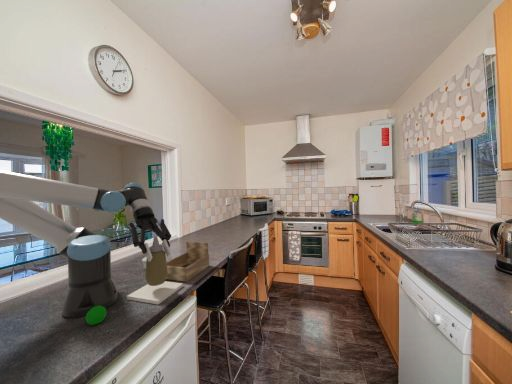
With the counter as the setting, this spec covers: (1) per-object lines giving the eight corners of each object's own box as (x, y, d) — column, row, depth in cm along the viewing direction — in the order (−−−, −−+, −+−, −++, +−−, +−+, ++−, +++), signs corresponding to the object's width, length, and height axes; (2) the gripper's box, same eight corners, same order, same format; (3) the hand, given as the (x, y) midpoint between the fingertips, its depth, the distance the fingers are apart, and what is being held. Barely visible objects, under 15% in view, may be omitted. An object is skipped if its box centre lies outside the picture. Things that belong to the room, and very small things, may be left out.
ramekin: (170, 263, 112) (170, 254, 112) (158, 272, 101) (158, 261, 101) (151, 263, 113) (150, 254, 113) (137, 271, 102) (137, 260, 102)
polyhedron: (110, 317, 64) (110, 302, 64) (98, 328, 60) (98, 311, 59) (94, 318, 64) (93, 303, 64) (81, 328, 59) (80, 312, 59)
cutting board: (126, 299, 75) (126, 296, 75) (155, 282, 89) (155, 279, 89) (158, 304, 71) (158, 301, 71) (183, 286, 85) (182, 283, 85)
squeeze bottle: (140, 285, 78) (139, 238, 78) (159, 277, 86) (158, 234, 85) (154, 289, 75) (152, 240, 74) (172, 280, 82) (171, 235, 82)
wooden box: (159, 278, 93) (159, 252, 92) (186, 263, 112) (186, 241, 112) (186, 282, 89) (185, 254, 89) (209, 265, 108) (208, 242, 108)
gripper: (162, 215, 97) (180, 256, 87) (114, 220, 83) (129, 270, 72) (167, 204, 94) (186, 245, 83) (118, 207, 79) (134, 258, 69)
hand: (160, 257), depth 78 cm, fingers closed on squeeze bottle, 6 cm apart
